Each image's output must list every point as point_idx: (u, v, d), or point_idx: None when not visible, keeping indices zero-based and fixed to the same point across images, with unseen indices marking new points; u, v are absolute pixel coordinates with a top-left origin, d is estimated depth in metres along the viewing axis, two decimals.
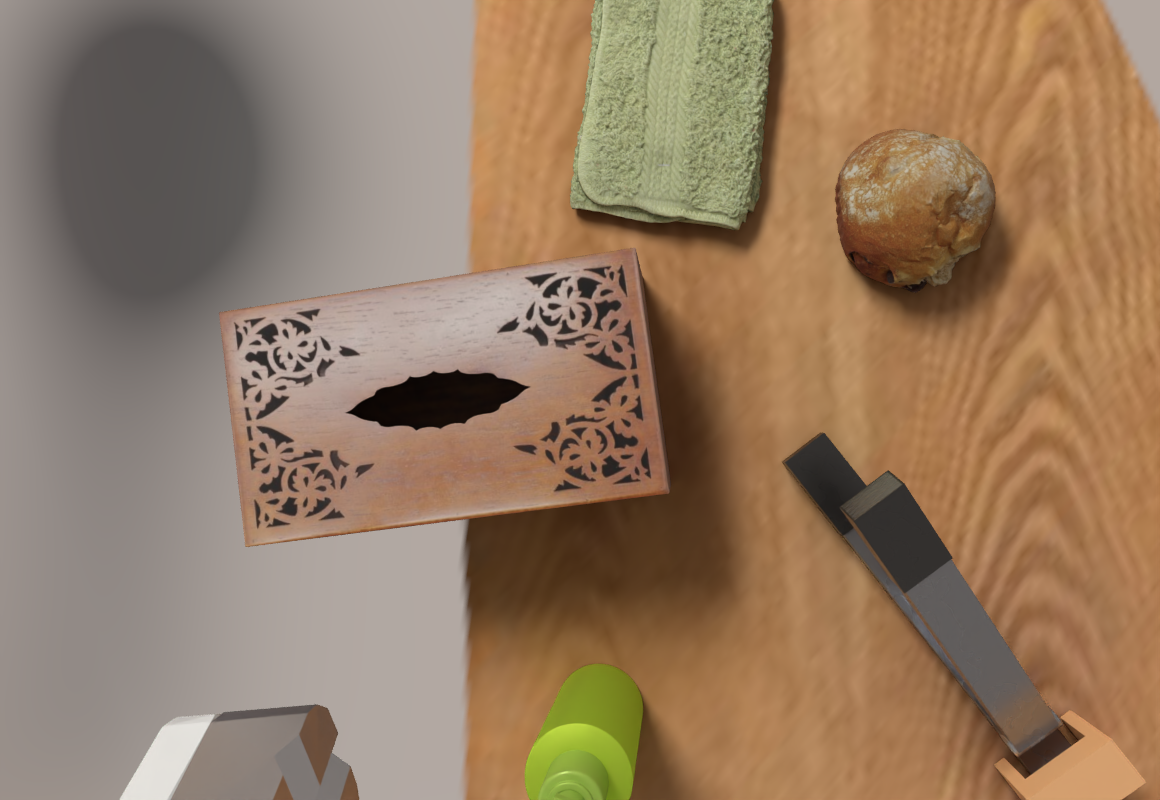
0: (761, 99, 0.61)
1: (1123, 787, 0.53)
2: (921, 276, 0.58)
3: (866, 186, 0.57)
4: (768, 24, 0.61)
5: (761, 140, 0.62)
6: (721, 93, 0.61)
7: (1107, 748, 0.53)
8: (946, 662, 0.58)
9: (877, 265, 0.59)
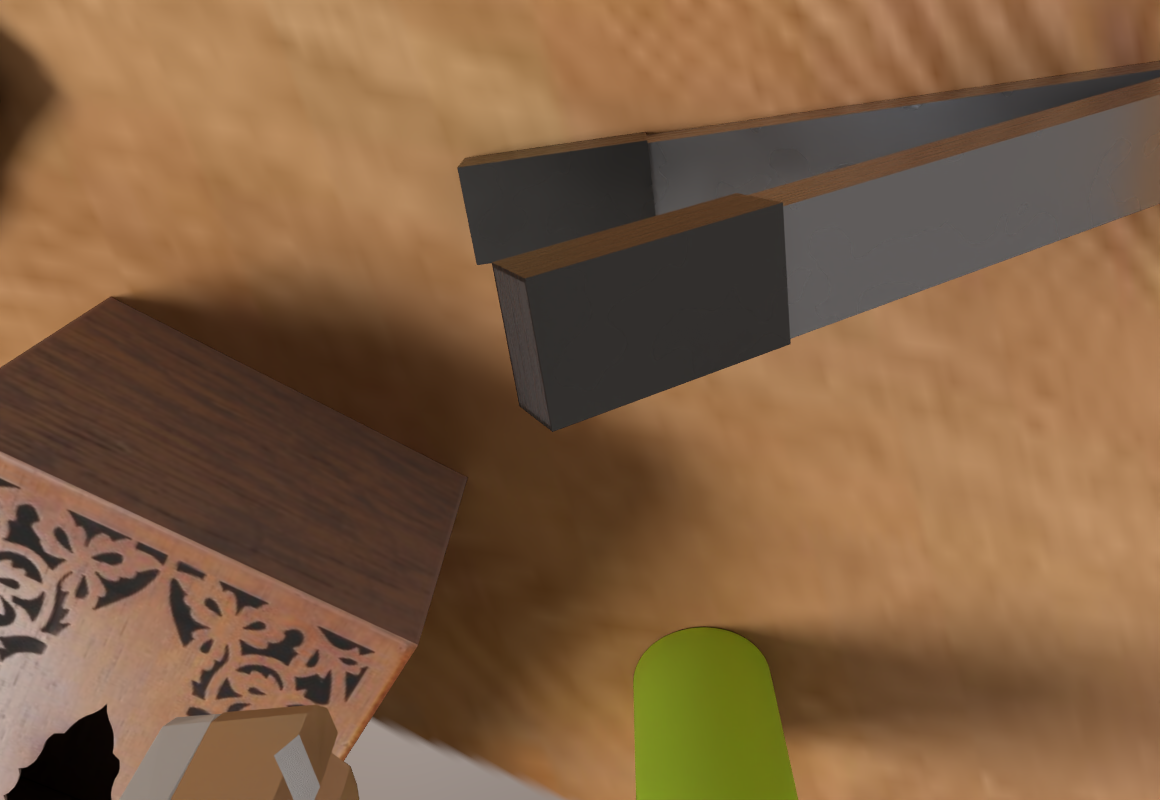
0: None
1: None
2: None
3: None
4: None
5: None
6: None
7: None
8: None
9: None
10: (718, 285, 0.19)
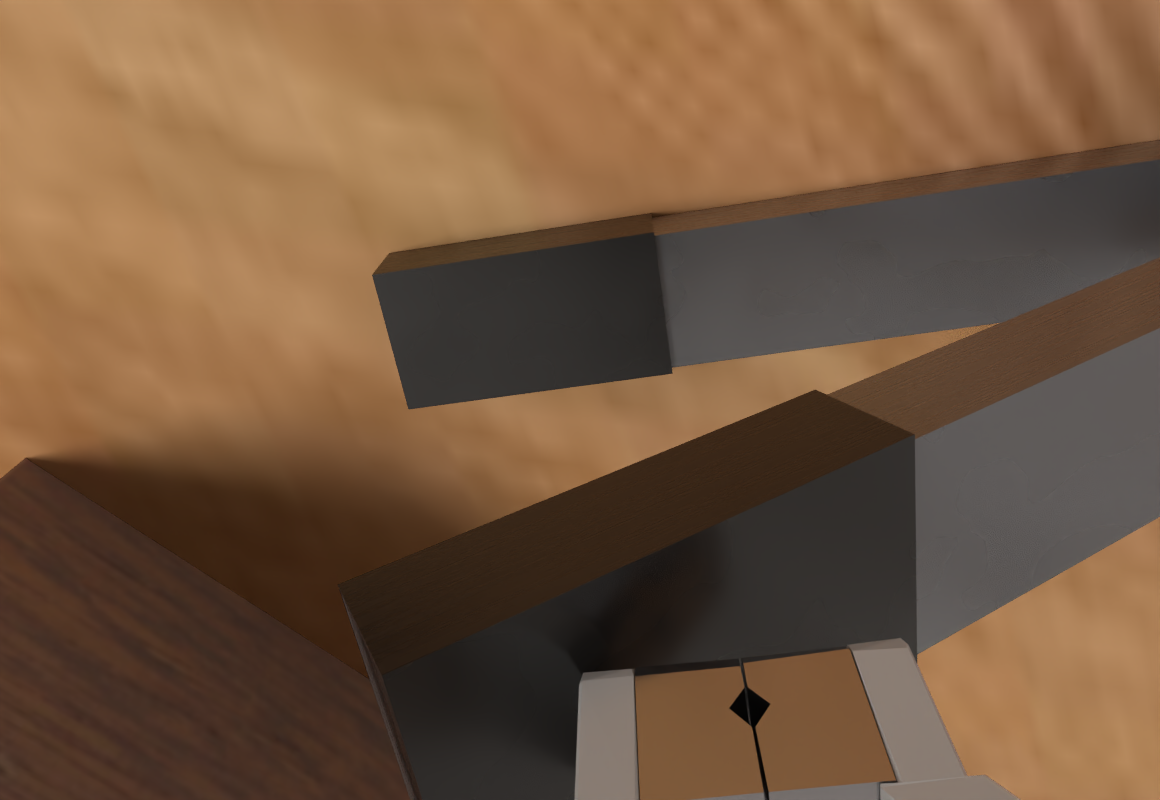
0: None
1: None
2: None
3: None
4: None
5: None
6: None
7: None
8: None
9: None
10: (791, 600, 0.10)
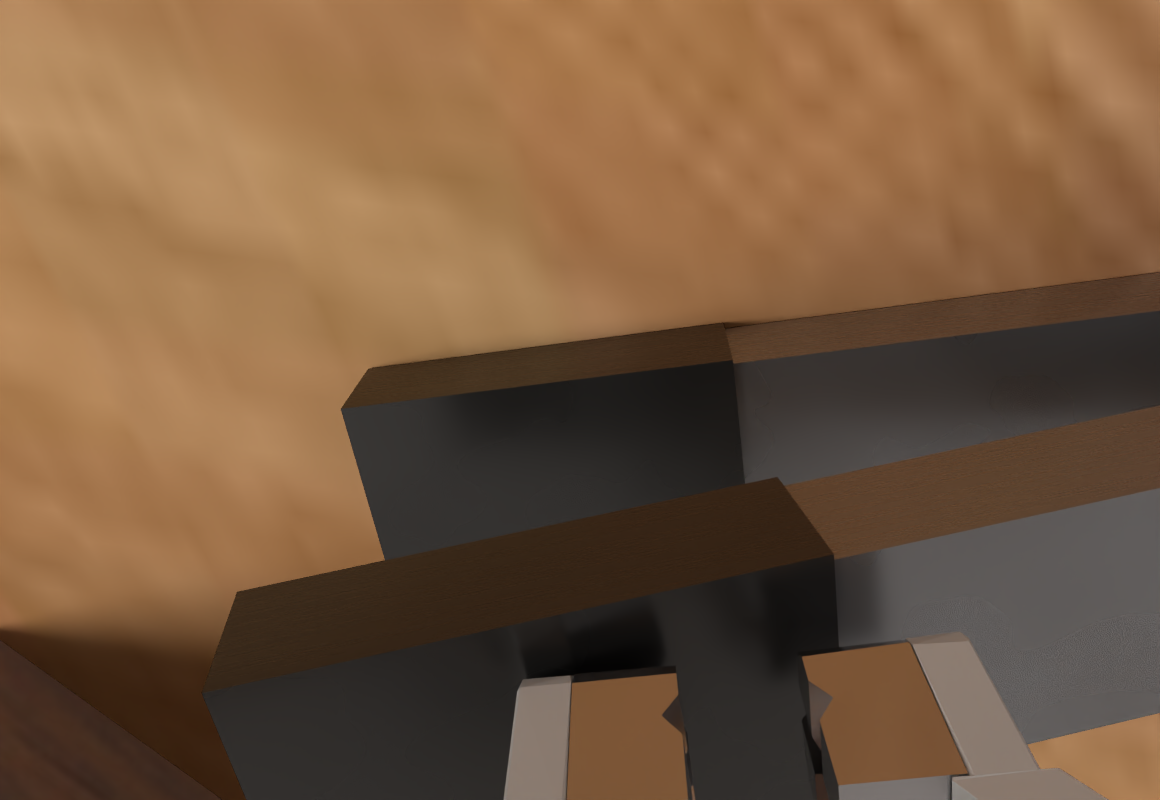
0: None
1: None
2: None
3: None
4: None
5: None
6: None
7: None
8: None
9: None
10: None
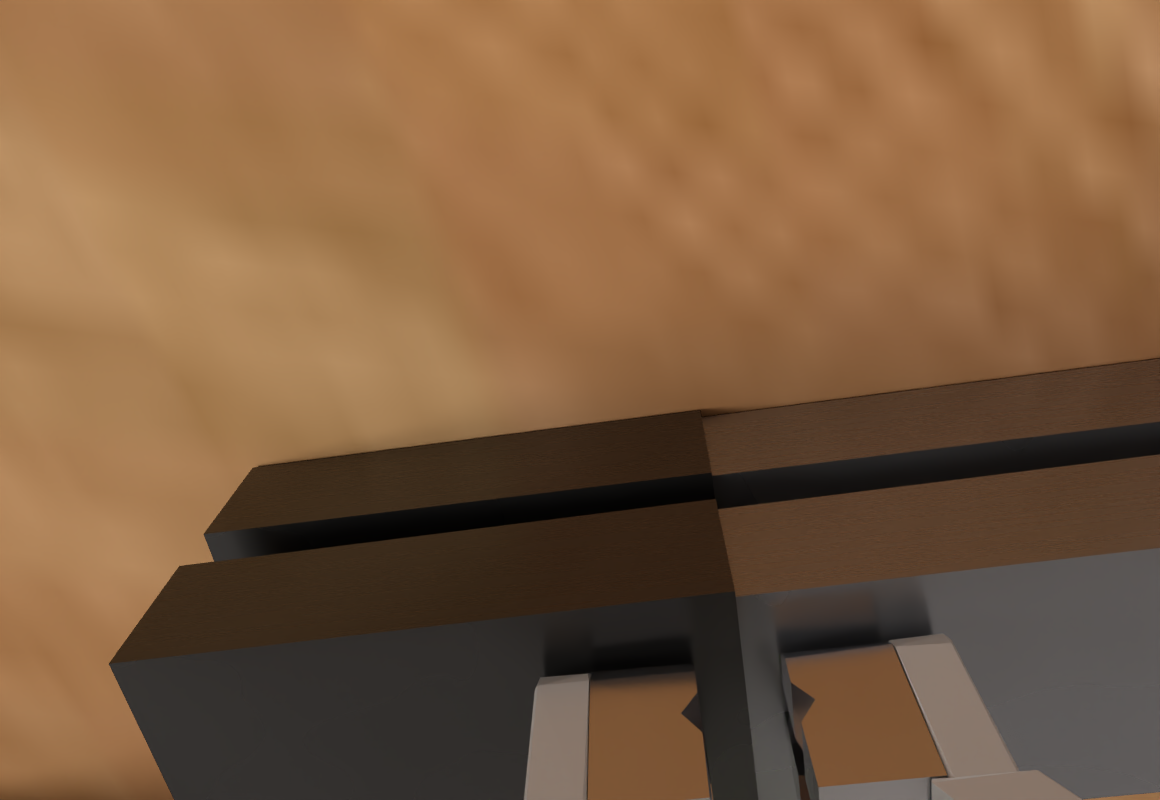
0: None
1: None
2: None
3: None
4: None
5: None
6: None
7: None
8: None
9: None
10: None
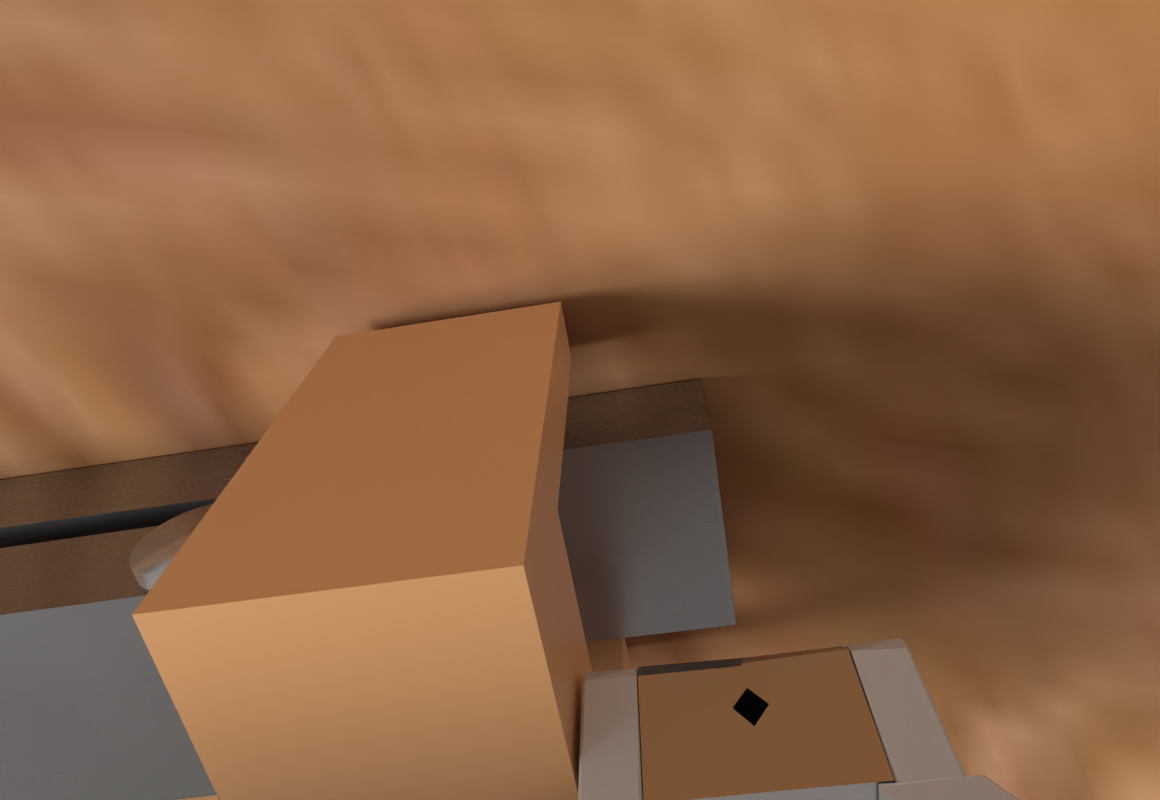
0: None
1: (492, 698, 0.07)
2: None
3: None
4: None
5: None
6: None
7: (190, 664, 0.07)
8: None
9: None
10: None
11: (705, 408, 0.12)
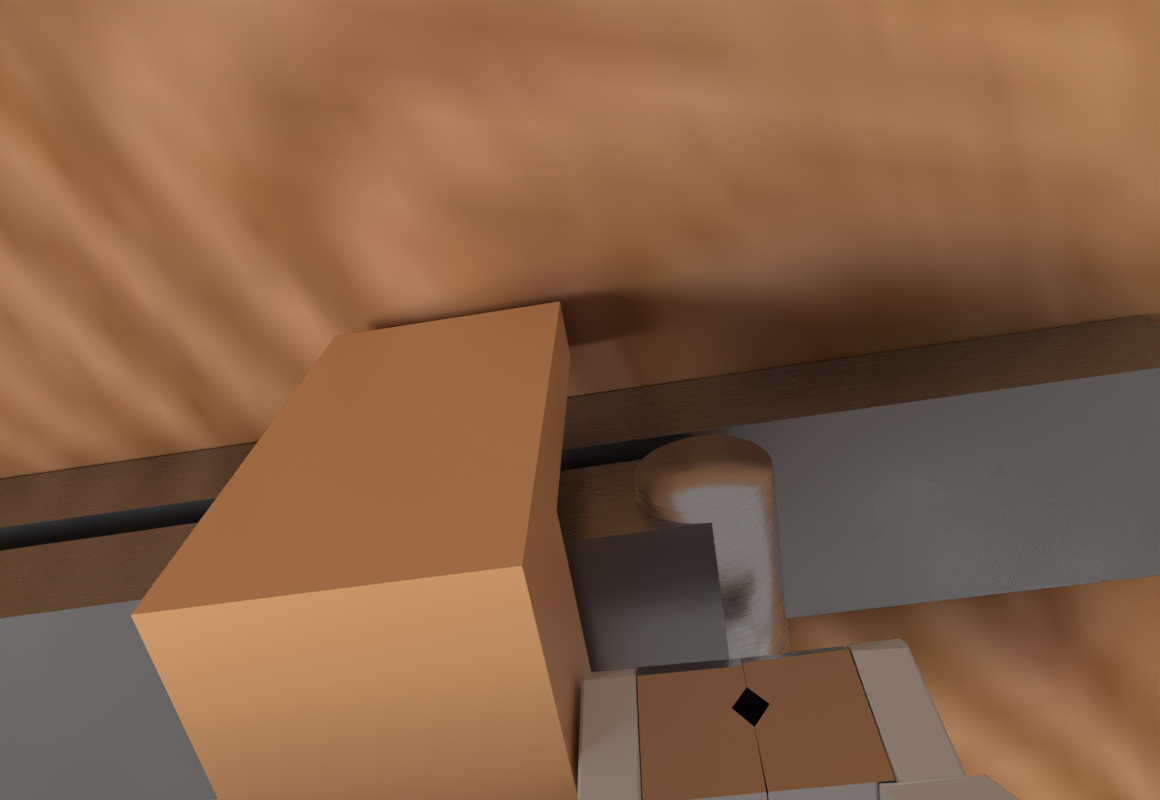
0: None
1: (491, 698, 0.07)
2: None
3: None
4: None
5: None
6: None
7: (189, 664, 0.07)
8: None
9: None
10: None
11: None
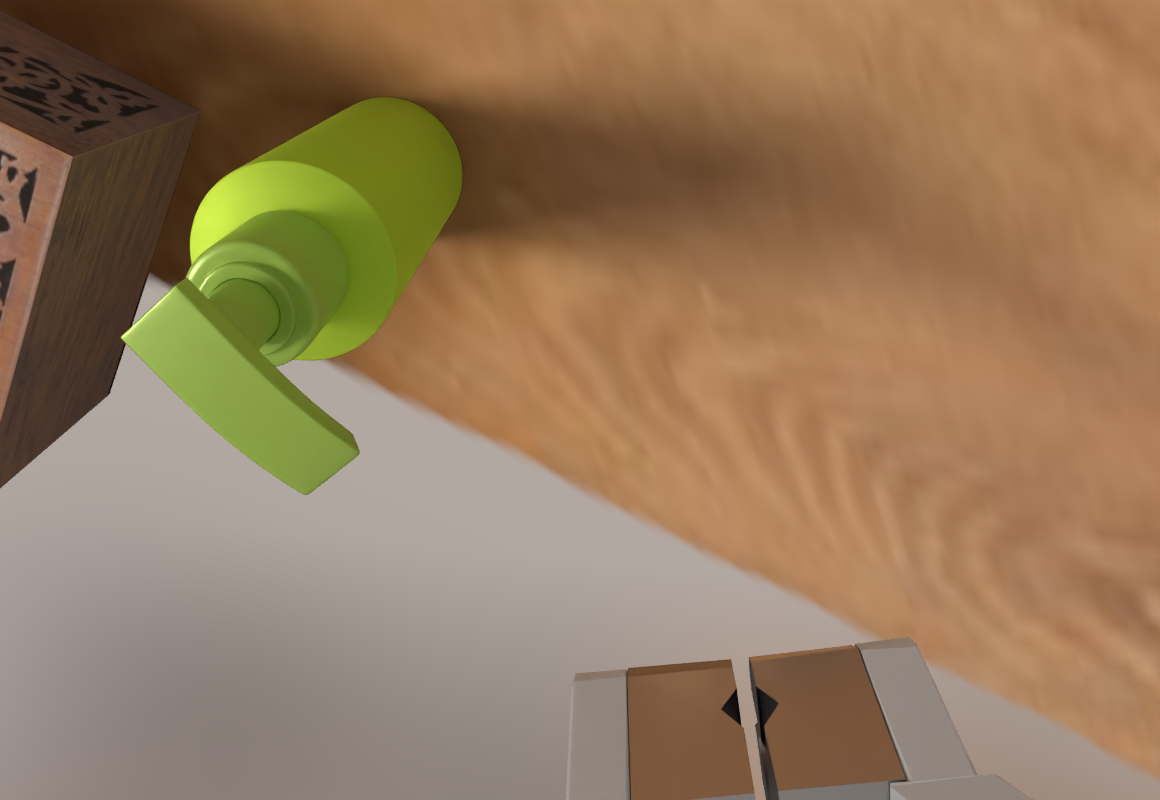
0: None
1: None
2: None
3: None
4: None
5: None
6: None
7: None
8: None
9: None
10: None
11: None
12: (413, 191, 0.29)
